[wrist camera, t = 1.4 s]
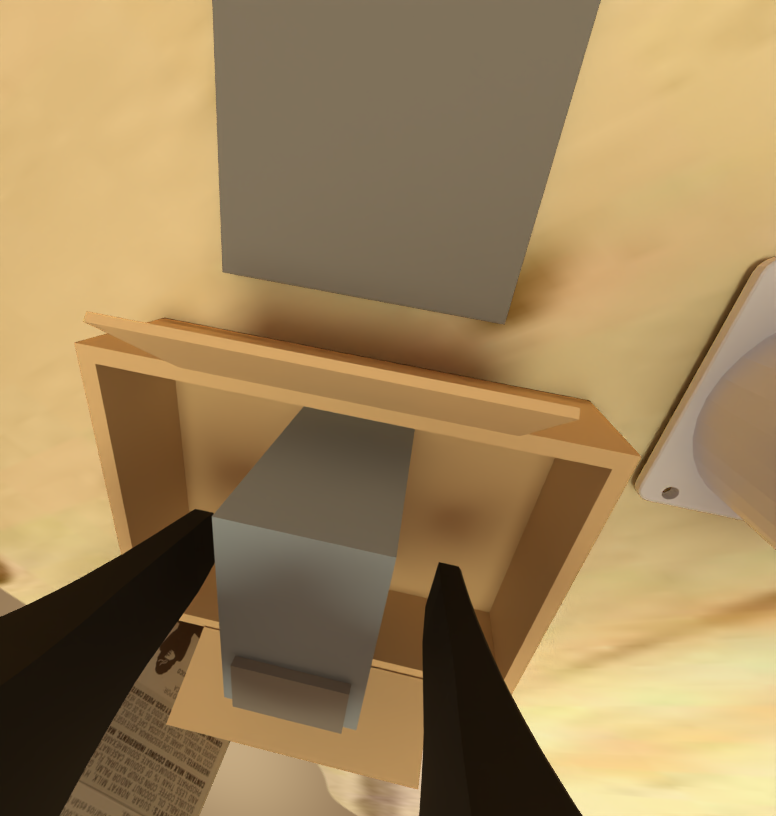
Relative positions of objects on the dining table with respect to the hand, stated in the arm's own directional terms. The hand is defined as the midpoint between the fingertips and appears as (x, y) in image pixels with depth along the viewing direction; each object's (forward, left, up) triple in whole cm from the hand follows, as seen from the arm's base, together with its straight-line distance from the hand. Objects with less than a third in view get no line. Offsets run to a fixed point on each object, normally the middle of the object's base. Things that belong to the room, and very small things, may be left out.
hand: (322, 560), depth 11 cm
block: (0, 0, -4) cm, 4 cm away
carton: (0, 0, -4) cm, 4 cm away
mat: (0, -12, -4) cm, 13 cm away
